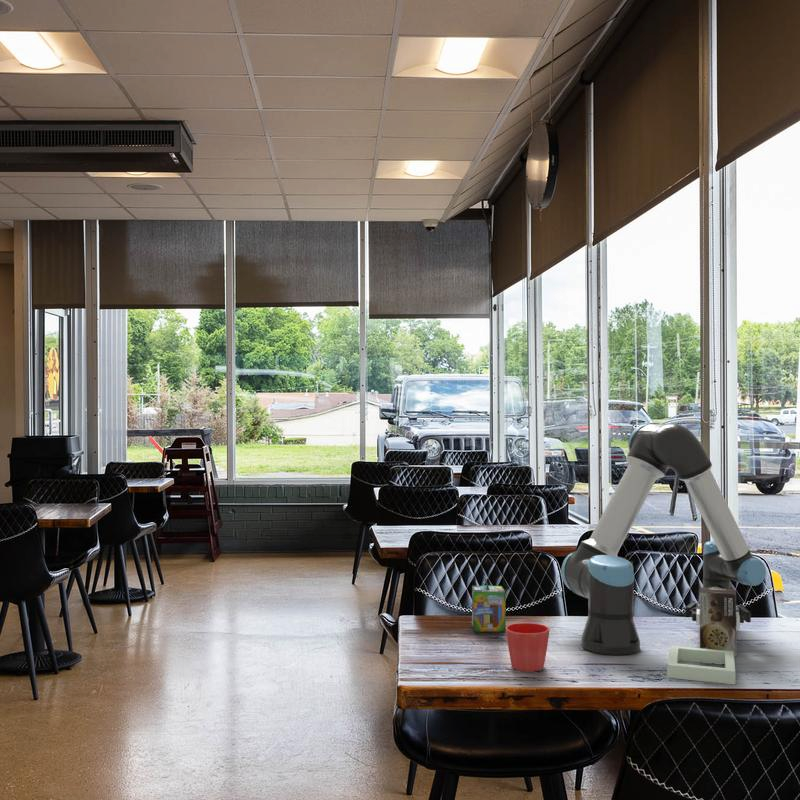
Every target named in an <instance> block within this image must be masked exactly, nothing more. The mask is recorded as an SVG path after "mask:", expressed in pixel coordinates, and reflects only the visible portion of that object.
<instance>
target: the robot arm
mask: <svg viewBox="0 0 800 800" xmlns="http://www.w3.org/2000/svg"><path fill="white" fill-rule="evenodd" d="M629 436H630V437H629V438H628V444H627V446H628V453H627V456H626V462H627V467H626V469H625V470H624V473H623V475H622V477H621V479H620V481H619V482H618V484H617V485H616V486H617V487H616V488H615V490H614V492H613V494H612V496H611V498H610V499H609V501H608V503H607V505H606V507H605V509H604V511H603V512H602V514H601V516H600V518H599V520H598V522H597V524H596V526H595V527H594V529H593V531H592V533H591V535H590V537H589V538H588V539H585V540H582V541H581V542H580V543H579V546H578V548H577V549H576V551H573V552H570V553H569V554H568V555H567V556H566V557H565V558H564V560H563V562H562V565H561V578H562V581H563V583H564V585H565V586H566V588H568V589H569V591H572V593H574V594H576V595H577V596H580V597H583V598H585V599H587V600H588V603H587V604H588V605H587V606H588V609H587V611H588V612H587V614H588V616H587V620H586V623H585V626H584V628H583V631H582V635H581V642H580V643H581V644H580V645H581V647H582V649H584V650H586V651H589V652H591V653H596V654H601V655H602V654H603V655H612V656H613V655H615V656H625V655H632V654H637V653H638V652H640V651H641V640H640V637H639V634H638V630H637V627H636V624H635V621H634V600H635V599H634V597H635V595H634V591H635V590H634V587H635V586H634V585H635V573H634V566H633V563H632V562H631V561H629V560H628V559H626V558H624V557H621V556H618V553H619V551H620V549H621V547H622V546H623V544H624V542H625V540H626V538H627V536H628V533H629V532H630V530H631V529H632V527H633V524H634V522H635V521H636V519H637V517H638V515H639V513H640V511H641V510H642V507H643V506H644V504H645V501H646V500H647V498H648V496H649V494H650V492H651V490H652V488H653V486H654V484H655V482H656V481H657V480H659V479H662V478H664V477H665V475H666V474H667V472H668V470H669V468H671V469H672V470H673V471H674V473H675V474H676V476H677V479H678V480H680V481H683V482H684V483H685V486H686V488H687V490H688V492H689V493H690V496H691V498H692V500H693V501H694V504H695V505H696V508H697V510H698V511H699V514H700V517H701V518H702V520H703V521H704V523H705V525H706V528H707V530H708V532H709V534H710V536H711V538H712V541H711V540H710V541H709V540H708V541H706V542H705V543H704V545H703V554H702V559H703V560H702V561H703V562H702V567H703V570H702V571H703V572H702V573H703V578H702V587H703V588H720V589H731V587H732V583H731V581H734V582H737V583H740V584H742V585H744V586H745V585H746V586H753V587H754V586H755V587H756V586H759V585H761V584H762V582H763V581H764V580H765V579H766V575H767V568H766V565H765V564H764V562H762V560H760V559H758V558H756V557H754V556H753V554H752V552H751V550H750V548H749V546H748V544H747V542H746V539H745V538H744V536H743V533H742V532H741V530H740V528H739V525H738V524H737V521H736V520H735V518H734V515H733V513H732V511H731V509H730V507H729V505H728V503H727V501H726V498H725V496H724V495H723V493H722V491H721V489H720V486H719V485H718V482H717V481H716V479H715V477H714V474H713V472H712V470H711V469H712V467H713V464H712V462H711V460H710V457H709V456H708V453H707V451H706V450H705V448H704V446H703V445H702V443H701V441H699V439H698V438H697V437H696V435H695V434H694V433H693V432H692V431H691V430H690V429H689V428H687V427H685V426H683V425H680V424H677V423H659V422H649V423H645V424H641V425H639V426H638V427H637V428H635V429H634V430H633V431H632V432H631V434H630V435H629ZM684 617H685V618H690V617H691V621H693V622H696V625H697V626H700V603H699V602H698V601H697V602H696V601H695V600H690V603H689V604H688V605H686V606H685V607H684ZM751 617H752V613H751V611H750V610H748V609H747V608H746V607H745V605H744V604H739V605H737V604H736V629H740V626H741V625H740V624H744V623H745V622H746V623H751V621H752V618H751Z"/></svg>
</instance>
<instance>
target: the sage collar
mask: <svg viewBox="0 0 800 800" xmlns="http://www.w3.org/2000/svg"><path fill="white" fill-rule="evenodd" d="M669 647H670V648H669V652H668V653H669V654H668V660H667V672H666V673H667V677H666V678H670V679H677V680H678V679H680V680H688V681H695V682H696V681H697V682H698V681H699V682H706V683H716V682H717V684H726V685H736V665H735V656H734V654H733V651H724V650H713V649H702V648H700V647H689V646H678V645H670V646H669ZM679 661H683V662H693V663H701V662H702V663H703V664H712V663H715V664H714V665H722V664H725V665H724V667H718V666H709V665H708V666H707V665H697V664H689V663H687V664H686V663H679Z"/></svg>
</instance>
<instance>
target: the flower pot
mask: <svg viewBox="0 0 800 800" xmlns="http://www.w3.org/2000/svg"><path fill="white" fill-rule="evenodd" d="M550 630H551V629H550V627H548V626H547V625H544V624H542V623H533V622H517V623H511V624H508V625H506V632H505V635H506V636H505V637H506V641H507V647H508V652H509V659H510V663H511V664H510V665H511V668H512V669H514V670H515V671H520V672H528V673H529V672H531V673H533V672H534V673H535V672H537V671H542V670H543V669H544V668H545V667H544V666H545V661H546V655H547V651H548V645H549V637H550Z"/></svg>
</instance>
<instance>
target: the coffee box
mask: <svg viewBox="0 0 800 800" xmlns="http://www.w3.org/2000/svg"><path fill="white" fill-rule="evenodd" d="M736 591H737V590H736V589H733V588H732V589H720V588H703V586H702V587H699V591H698V593H699V604H700V624H699V648H702V649H713V650H724V651H733V654H734V657H737V628H736V607H737V592H736Z"/></svg>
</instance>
